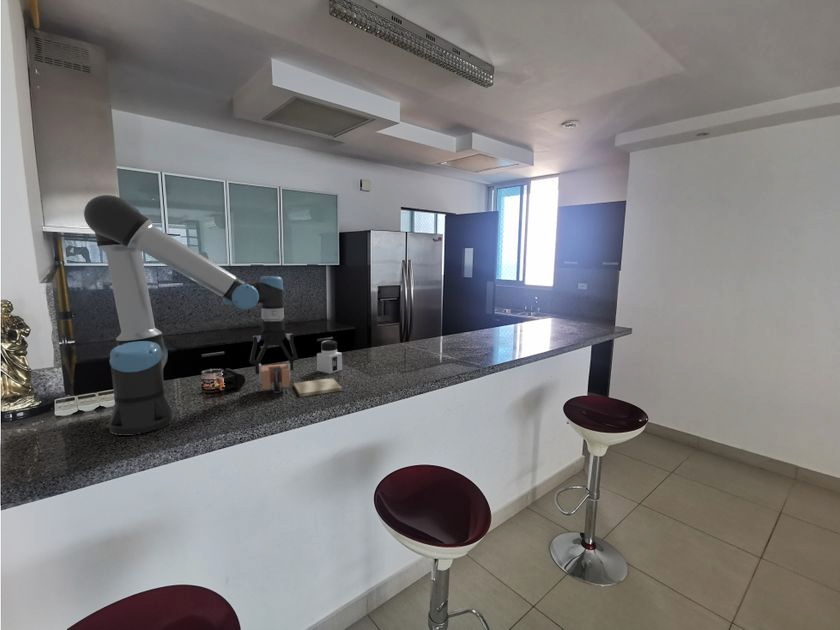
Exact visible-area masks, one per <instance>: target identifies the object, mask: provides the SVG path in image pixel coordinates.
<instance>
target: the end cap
mask: <svg viewBox="0 0 840 630" xmlns="http://www.w3.org/2000/svg"><path fill="white" fill-rule="evenodd" d="M222 373H223V375H222V376H220V377H221V378H222V379H223V378H224V383H225V384H224V385H225V387H222V389H224V390H222V391H223V392H222V391H221V392H222V393H223V394H230V393H235V392H238V391H239V390H241V389H242V388H243V387H244V385H245V384H246V377H245V375H244V374H242V373H241V372H238V371H236V370H234V369H231V368H225V370H222Z"/></svg>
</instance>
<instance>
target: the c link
mask: <svg viewBox="0 0 840 630" xmlns="http://www.w3.org/2000/svg"><path fill="white" fill-rule="evenodd" d="M275 367H278V368H279V379H280V386H281V388H282V387H283V388H285V387H290V384H291V383H290V382H291V378H290V379H289V368H288V366H287V363H281V364H268V365H261V372H262V383H260V385H261V389H263V390H265V389H266V390H267V389H268V390H269V389H271V384H274V378H273V368H275Z"/></svg>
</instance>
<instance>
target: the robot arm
mask: <svg viewBox="0 0 840 630" xmlns="http://www.w3.org/2000/svg"><path fill="white" fill-rule="evenodd" d="M83 216H84V220H85V222H86V225H87V226H88V227H89V229H91V230H92V231H93V232H94V234H95V240H96V245H97V248H98V249H100V250H101V251H102V252H104V253H105V255H106V256H105V257H106V261H107V267H108V271H109V272H108V273H109V276H110V281H111V287H112V292H113V297H114V302H115V307H116V313H117V316H118V318H117V319H118V322H119V327H120V334H119V335H118V336H117V337H116V339H115V340H116V344H117V346H115V347H113V348H112V349H111V351H110V352H109V364H110V365H109V366H110V370H111V380H112V388H113V389H112V390H113V398H114V406H113V410H112V412H111V416H110V419H109V423H108V428H109V429H110V430H109V432H110V431H111V432H113V433H116V434H122V435H123V434H138V433H144V434H146V433H145V432H149V431H152V430H156V429H158V428H161V427H163V426H165V425H167V424H169V423H170V422H172V421H173V419H174V420H175V415H174V414H175V412H174V410H173V408H172V407H171V404H170V402H169V400H168V399H167V396H166V393H165V384H164V383H165V379H164V369H165V368H164V367H165V366H166V364H167V362H168V358H169V357H168V355H169V354H168V349H167V347H166V346H165V342H164V338H163V337H164V336H163V332H162V331H161V330H159V329H158V328H156V326H155V320H154V313H153V309H152V304H151V303H152V302H151V297H150V293H149V286H148V282H147V280H148V279H147V276H146V270H145V264H144V258H143V254H142V253H144V254H146V255H148V256H150V257H151V258H153V259H155V260H156V261H158V262H160V263H161V264H164V265H165V266H167V267H169V268H170V269H172V270H174V271H176V272H177V273H180V274H181V275H183V276H184V277H187V278H188V279H189V280H192V281H193V282H195V283H196V284H199V285H200V286H201V287H204V288H206V289H207V290H209V291H211V292H212V293H215V294H216V295H218V296H219V297H222V302H223V304H225V305H232V306H235V307H237V308H239V309H242V310H248V309H252V308H253V307H256V305H257V304H260V305H261V308H260V309H261V310H260V311H261V312H260V313H261V319H262V321H261V334H260V335H253V336H252V342H253V344H252V347H251V351H250V356H249V365H254V369H255V374H256V375H258V383H259V384H261V383H262V372H261V366H262V363H261V361H262V359H263V357H264V355H265V353H266V351H267V350H268V349H269V347H273V346H277V347H278V346H280V347H281V348H280V349H282V351H283V353H284V354H285V356H286V357H287V359H288V360H287V361H286V364H287V366H288V368H289V379H290V380H291V371H294V362H295V361H298V360H299V357H298V353H297V349H296V345H295V342H294V338H295V337H294V334H293V333H286V331H285V320H284V318H285V311H284V310H285V309H284V306H285V304H284V302H285V301H284V300H285V299H284V282H283V278H282V277H281V276H276V275H273V276H269V275H268V276H264V275H263V276H261V277H260V279H259V281H255V282H254V281H253V282H252V281H251V282H249V281H244V280H242V279H241V278H239V277H237V276H236V275H235V274H233V273H231V272H229V271H228V270H226V269H225V268H223V267H221V266H220V265H218V264H216V263H215V262H213V261H212V260H210V259H208V258H206V257H205V256H203V255H201V254H200V253H198V252H196V251H195V250H194V249H192V248H191V247H189V246H187V245H186V244H183V243H182V242H180V241H179V240H177V239H176V238H174V237H172V236H170V235H169V234H168V233H166V232H164V231H162V229H159V228H157V227H156V226H154V224H153V222H152V220H151V219H150V218H148V217H147V216H145V215H144V214H143V213H141V212H140V210H139V209H138V208H137V207H135V206H134V205H132V203H130V202H128V201H127V200H125V199H124V198H121V197H120V196H116V195H113V194H111V195H110V194H108V195H107V194H103V195H98V196H95V197H94V198H91V199H90V200H89V201H87V203H86V205H85V207H84V209H83ZM285 339H287V340H288V342H289V345H290V348H291V349H290V350H291V353H292V356H291V354H290V352H289V350H288V349H287V347H286V346H285V344H284V342H283V341H284V340H285ZM261 340H262V341H263V342H264V343H263V345H262V346H261V350H260V351H259V353H258V355H257V356H256V353H257V348H258V343H259V342H260V341H261ZM255 357H256V359H255ZM173 422H174V421H173ZM173 422H172V423H173ZM169 425H170V424H169ZM163 428H164V427H163ZM161 429H162V428H161ZM158 430H159V429H158ZM156 431H157V430H156ZM152 432H153V431H152ZM149 433H150V432H149Z"/></svg>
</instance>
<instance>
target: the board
mask: <svg viewBox="0 0 840 630" xmlns="http://www.w3.org/2000/svg"><path fill="white" fill-rule="evenodd" d="M293 387H294V389H295V391H296V393H297V394H298V396H299V397H300V398H302V397H307V396H308V397H309V396H314V395H315V396H316V395H320V394H321V395H323V394H328V393H329V394H330V393H336V392H341V391H343V389H342V388H343V387H342V385H340V384H339V383H338V382H337V381H336V380H335V378H334V377H331V378H323V379H314V380H308V381H307V380H306V381H299V382H293Z"/></svg>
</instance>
